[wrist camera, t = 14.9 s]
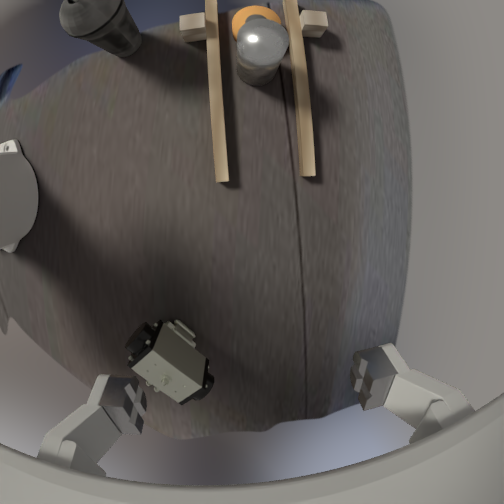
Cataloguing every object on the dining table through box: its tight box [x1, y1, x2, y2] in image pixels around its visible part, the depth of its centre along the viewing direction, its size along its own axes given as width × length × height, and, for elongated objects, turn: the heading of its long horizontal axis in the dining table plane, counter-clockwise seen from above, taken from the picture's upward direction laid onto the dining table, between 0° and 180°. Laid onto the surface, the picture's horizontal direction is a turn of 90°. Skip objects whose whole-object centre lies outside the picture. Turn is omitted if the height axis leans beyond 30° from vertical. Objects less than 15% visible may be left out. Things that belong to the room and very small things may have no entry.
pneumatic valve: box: [125, 319, 214, 405], centre depth 36 cm, size 6×12×12 cm, turn 43°
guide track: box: [180, 0, 328, 182], centre depth 30 cm, size 18×26×4 cm
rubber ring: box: [232, 6, 281, 42], centre depth 28 cm, size 6×6×3 cm
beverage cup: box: [59, 0, 142, 57], centre depth 19 cm, size 7×7×20 cm
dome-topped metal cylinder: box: [237, 19, 289, 86], centre depth 26 cm, size 5×5×10 cm
